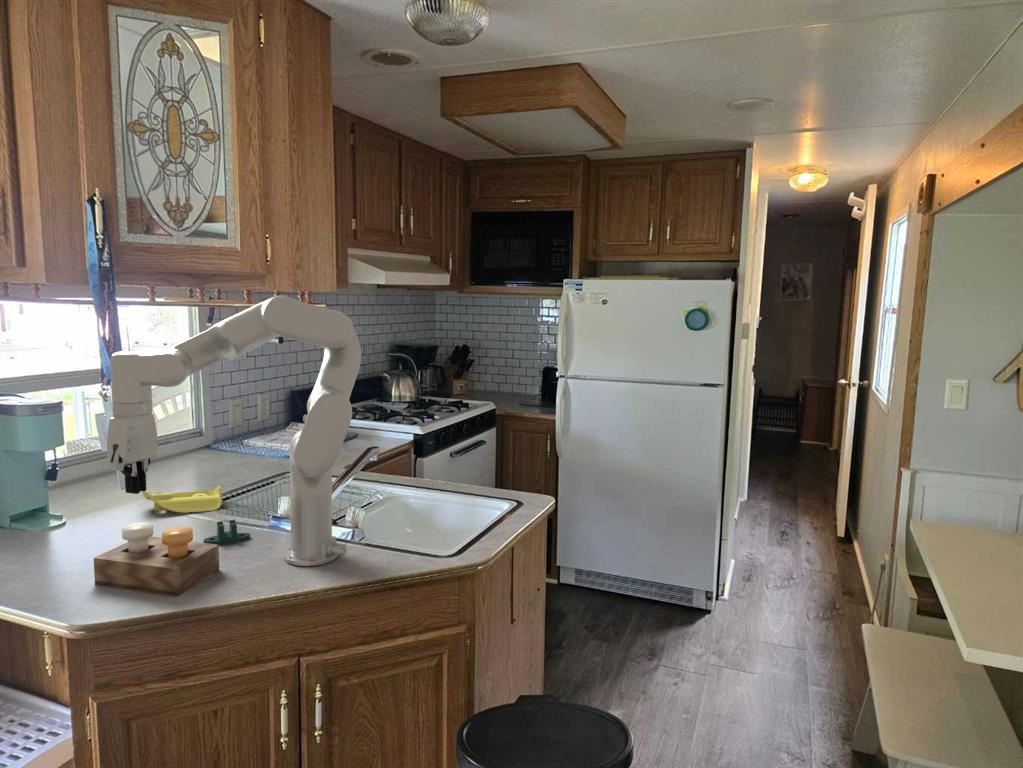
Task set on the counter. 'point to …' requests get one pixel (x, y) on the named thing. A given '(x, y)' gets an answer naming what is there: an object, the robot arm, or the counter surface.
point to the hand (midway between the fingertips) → (136, 491)
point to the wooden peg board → (156, 568)
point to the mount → (227, 535)
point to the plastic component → (186, 501)
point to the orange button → (177, 541)
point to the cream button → (137, 536)
